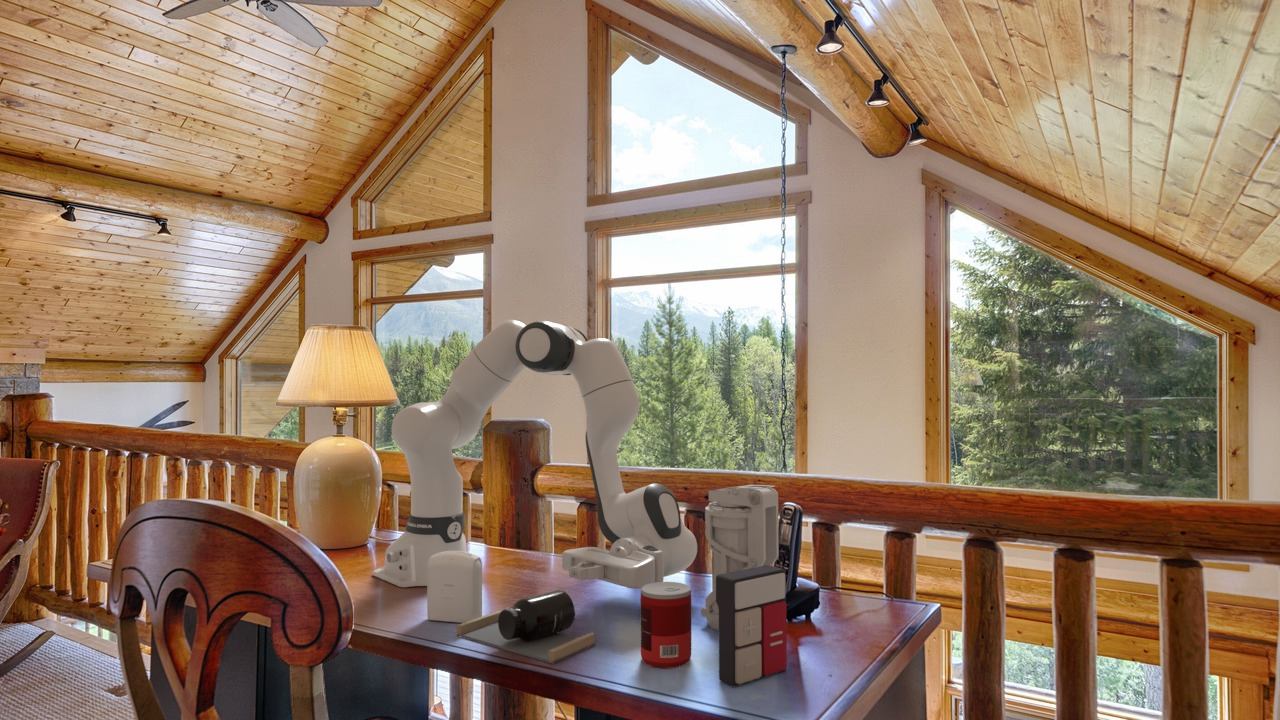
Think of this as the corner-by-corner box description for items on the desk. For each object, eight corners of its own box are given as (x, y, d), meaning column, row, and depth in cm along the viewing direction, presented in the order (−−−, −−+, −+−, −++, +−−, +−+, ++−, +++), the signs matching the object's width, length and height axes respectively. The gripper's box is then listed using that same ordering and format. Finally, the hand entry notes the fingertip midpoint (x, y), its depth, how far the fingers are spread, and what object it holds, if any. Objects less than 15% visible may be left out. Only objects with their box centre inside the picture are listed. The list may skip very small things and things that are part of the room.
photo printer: (423, 621, 132) (423, 552, 132) (435, 614, 136) (436, 547, 136) (474, 626, 129) (474, 555, 129) (485, 618, 133) (486, 550, 134)
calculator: (736, 689, 102) (735, 581, 102) (715, 680, 105) (715, 574, 106) (790, 672, 108) (789, 569, 109) (769, 663, 112) (768, 564, 112)
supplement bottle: (580, 626, 123) (522, 644, 114) (556, 632, 127) (498, 650, 119) (570, 585, 125) (512, 600, 116) (547, 592, 129) (490, 607, 121)
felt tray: (456, 635, 124) (456, 624, 124) (499, 620, 132) (500, 610, 132) (553, 663, 111) (553, 651, 111) (594, 645, 119) (594, 633, 119)
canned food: (701, 658, 113) (701, 587, 114) (668, 673, 108) (668, 598, 108) (663, 646, 119) (663, 578, 119) (630, 660, 113) (630, 588, 113)
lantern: (693, 624, 130) (693, 483, 131) (728, 611, 137) (728, 478, 138) (754, 642, 121) (753, 490, 122) (788, 627, 128) (787, 484, 129)
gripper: (594, 536, 146) (539, 547, 137) (669, 552, 132) (612, 565, 122) (595, 568, 146) (539, 581, 136) (669, 587, 132) (612, 603, 122)
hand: (574, 573), depth 129 cm, fingers closed
